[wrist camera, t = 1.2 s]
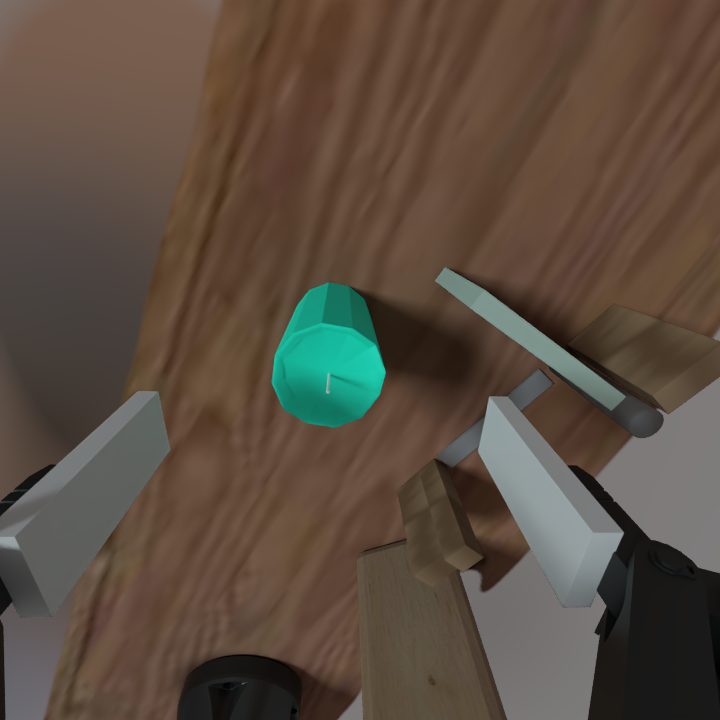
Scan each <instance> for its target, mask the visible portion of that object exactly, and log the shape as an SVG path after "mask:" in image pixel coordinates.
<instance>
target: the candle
mask: <svg viewBox="0 0 720 720" xmlns="http://www.w3.org/2000/svg"><path fill="white" fill-rule="evenodd" d="M385 374H386V371H385V367H384V364H383V360H382V356H381V353H380V349H379V345H378V342H377V338H376V334H375V330H374V327H373V323H372V319H371V316H370V313H369V310H368V308H367V305H366V302H365V299H364V298H363V297H361V296H360V295H359V294H358V293H357V292H355V291H354V290H353V289H352V288H351V287H349V286H346V285H340V284H334V283H326V284H324V285H321V286H318V287H316V288H313V289H310V290H309V291H308V292H307V294H306V295H305V296H304V298H303V299H302V300H301V301H300V303H299V304H298V305H297V307H296V310H295V312H294V314H293V316H292V318H291V321H290V323H289V325H288V327H287V329H286V332H285V334H284V336H283V338H282V340H281V343H280V345H279V347H278V349H277V351H276V354H275V359H274V368H273V378H272V384H273V387H274V389H275V391H276V394H277V396H278V398H279V400H280V403H281V405H282V407H283V409H284V410H285V411H287V412H289V413H290V414H292V415H294V416H296V417H297V418H299V419H301V420H302V421H304V422H306V423H309V424H316V425H323V426H329V427H338V426H340V425H343V424H346V423H348V422H351V421H354V420H357V419H359V418H362V416H363V415H364V414H365V413H366V411H367V410H368V409H369V408H370V406H371V405H372V404H373V403H374V401H375V400H376V399H377V398H378V397H379V395H380V392H381V388H382V384H383V381H384V377H385Z"/></svg>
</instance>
